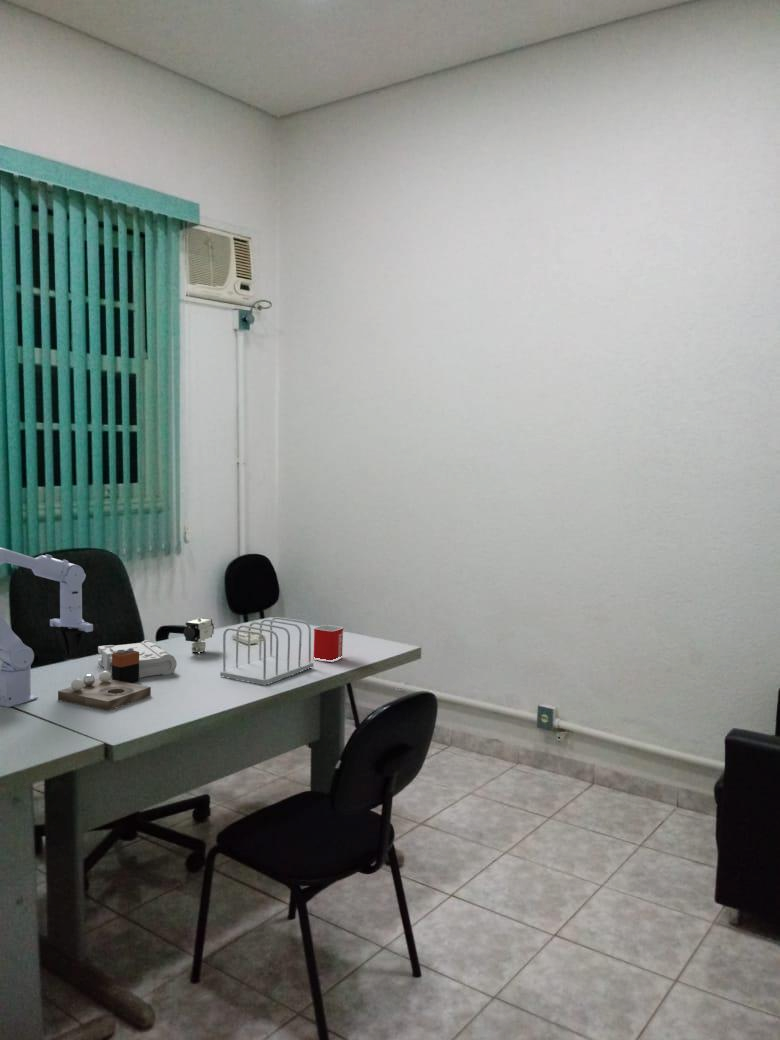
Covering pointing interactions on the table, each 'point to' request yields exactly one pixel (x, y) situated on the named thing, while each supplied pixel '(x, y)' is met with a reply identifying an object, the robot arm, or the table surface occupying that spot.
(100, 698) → the hole plate
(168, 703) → the table surface
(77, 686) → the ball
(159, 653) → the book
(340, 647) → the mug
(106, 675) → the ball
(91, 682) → the steel ball
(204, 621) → the pneumatic valve
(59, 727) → the table surface
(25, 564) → the robot arm
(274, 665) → the file sorter
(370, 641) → the table surface
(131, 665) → the battery
